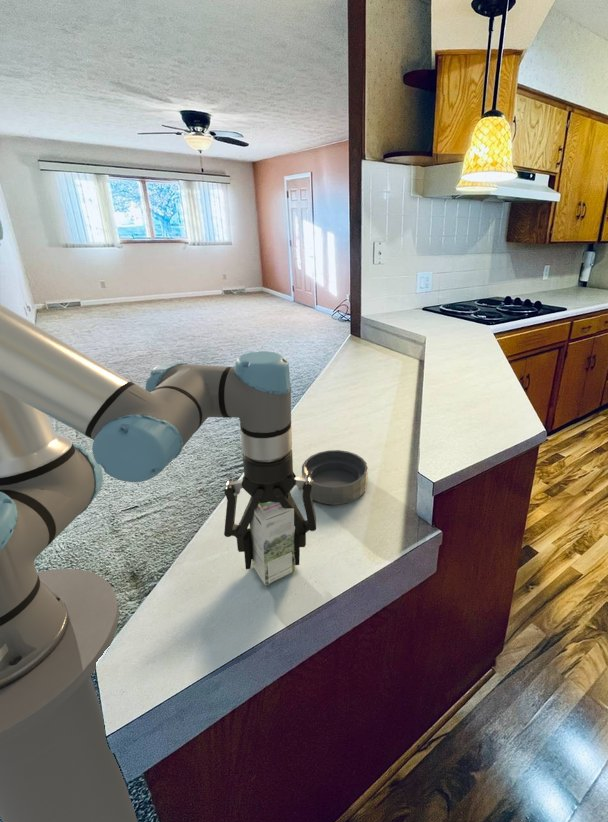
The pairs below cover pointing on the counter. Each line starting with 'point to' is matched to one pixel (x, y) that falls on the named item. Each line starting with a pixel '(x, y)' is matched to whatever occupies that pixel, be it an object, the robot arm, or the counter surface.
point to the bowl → (336, 476)
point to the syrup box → (272, 541)
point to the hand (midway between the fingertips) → (273, 561)
